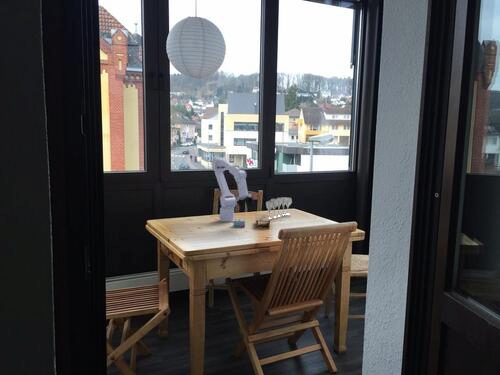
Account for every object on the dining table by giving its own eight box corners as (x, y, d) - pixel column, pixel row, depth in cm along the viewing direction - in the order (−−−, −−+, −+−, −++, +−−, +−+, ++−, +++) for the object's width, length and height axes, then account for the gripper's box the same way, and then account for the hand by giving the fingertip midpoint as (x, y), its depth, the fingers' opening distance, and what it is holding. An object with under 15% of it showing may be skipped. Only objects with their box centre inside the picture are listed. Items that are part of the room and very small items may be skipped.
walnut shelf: (256, 228, 261) (256, 220, 260) (256, 222, 278) (256, 215, 277) (269, 228, 261) (269, 220, 260) (268, 222, 278) (269, 215, 277)
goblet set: (270, 219, 289) (270, 200, 287) (263, 218, 292) (264, 199, 291) (292, 214, 310) (293, 196, 309) (286, 213, 314) (287, 195, 312)
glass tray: (233, 227, 262) (233, 221, 262) (234, 225, 268) (234, 219, 267) (244, 227, 262) (244, 221, 262) (245, 225, 267) (245, 219, 267)
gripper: (231, 191, 270) (235, 212, 269) (243, 187, 258) (246, 209, 257) (241, 191, 274) (244, 211, 273) (252, 186, 262) (256, 207, 261)
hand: (246, 210), depth 265 cm, fingers open, 7 cm apart
